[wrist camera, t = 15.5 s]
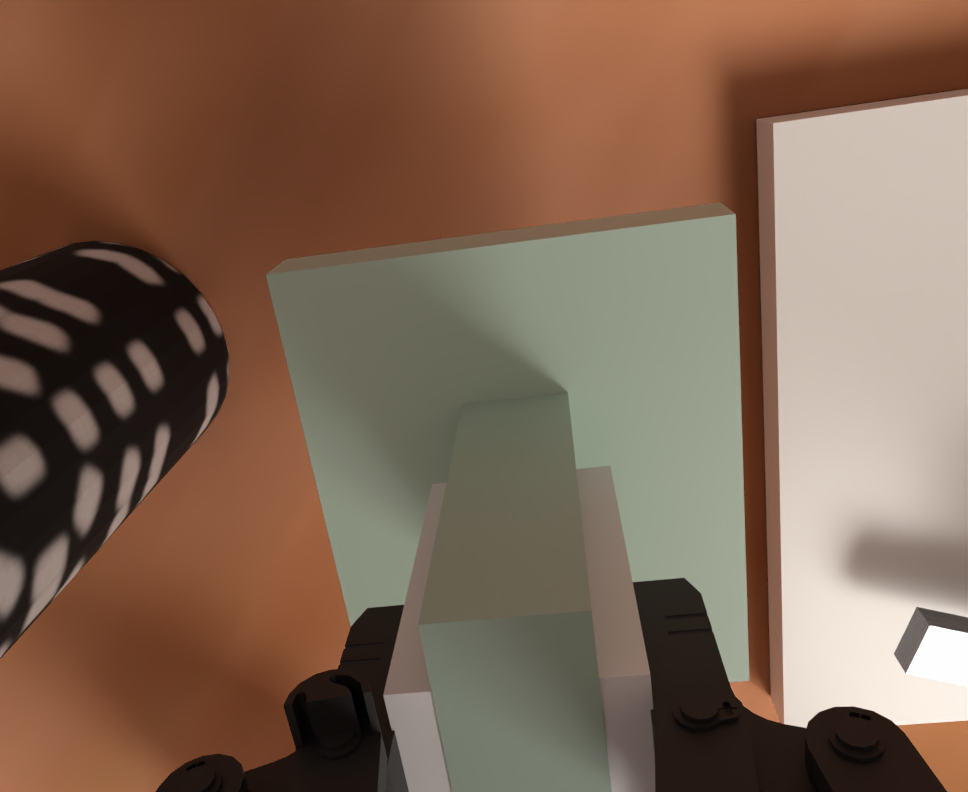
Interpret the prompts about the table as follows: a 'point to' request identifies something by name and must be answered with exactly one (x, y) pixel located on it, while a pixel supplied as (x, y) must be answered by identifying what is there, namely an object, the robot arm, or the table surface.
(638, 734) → the robot arm
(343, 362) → the cover
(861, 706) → the lock base
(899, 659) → the grey angled block piece
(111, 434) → the white-spotted black cylinder
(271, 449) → the table surface
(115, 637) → the table surface
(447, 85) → the table surface
